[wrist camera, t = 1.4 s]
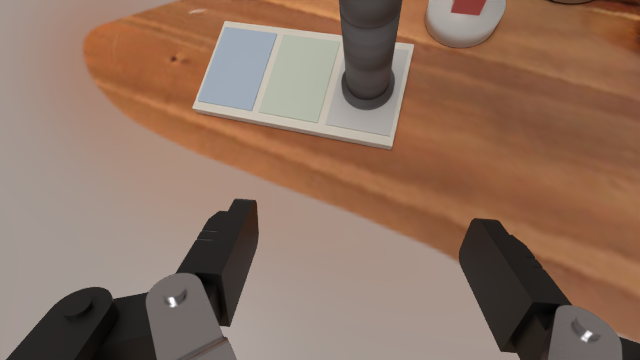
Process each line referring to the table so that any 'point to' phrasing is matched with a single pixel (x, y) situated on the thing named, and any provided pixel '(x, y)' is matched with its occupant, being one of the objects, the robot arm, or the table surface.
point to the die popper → (463, 21)
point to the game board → (295, 84)
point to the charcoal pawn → (368, 50)
